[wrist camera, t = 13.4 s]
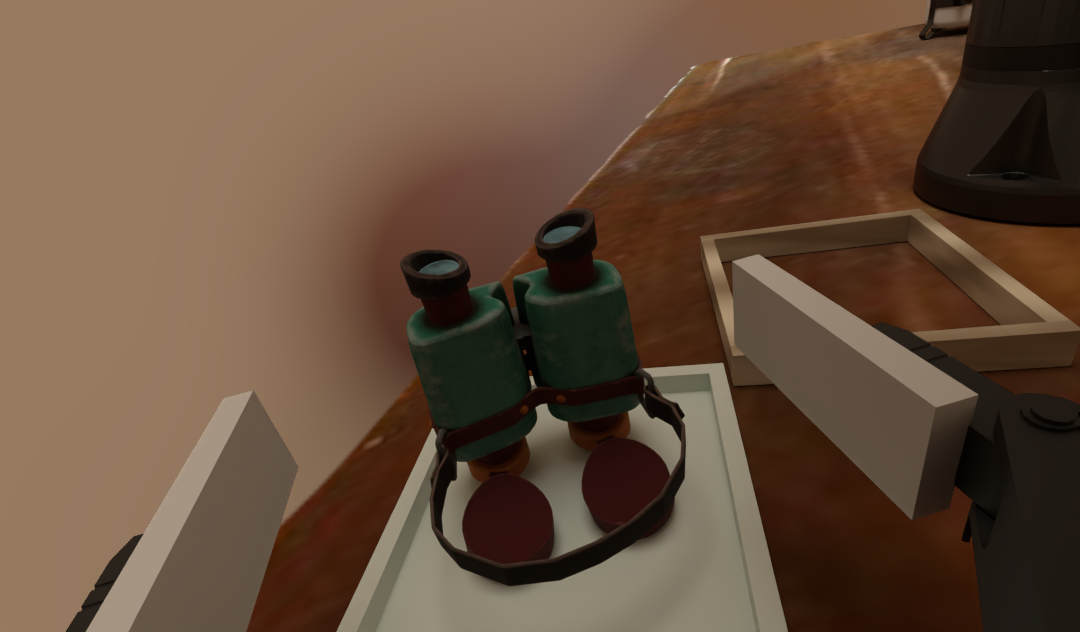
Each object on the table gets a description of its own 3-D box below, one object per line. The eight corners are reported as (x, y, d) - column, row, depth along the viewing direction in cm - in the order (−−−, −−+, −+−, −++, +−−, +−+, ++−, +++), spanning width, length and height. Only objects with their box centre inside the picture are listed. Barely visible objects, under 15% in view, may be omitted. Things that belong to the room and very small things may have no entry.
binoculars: (345, 450, 10) (366, 242, 19) (477, 671, 16) (449, 441, 25) (760, 323, 11) (604, 178, 19) (741, 579, 17) (629, 385, 25)
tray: (463, 408, 28) (454, 381, 27) (724, 393, 25) (723, 363, 24) (334, 718, 16) (309, 688, 15) (808, 763, 13) (811, 730, 12)
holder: (701, 259, 38) (700, 236, 37) (915, 234, 35) (919, 208, 34) (733, 386, 25) (732, 356, 25) (1070, 365, 22) (1083, 330, 21)
